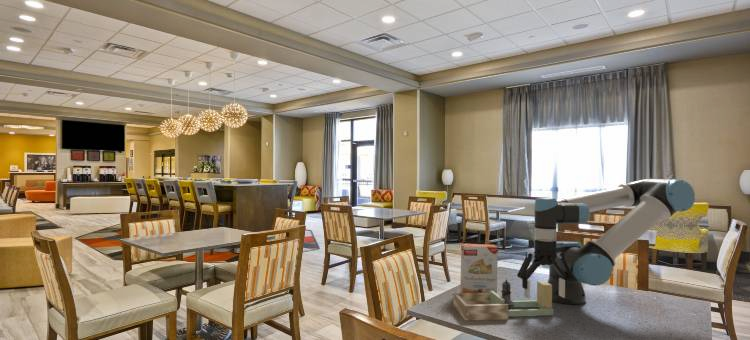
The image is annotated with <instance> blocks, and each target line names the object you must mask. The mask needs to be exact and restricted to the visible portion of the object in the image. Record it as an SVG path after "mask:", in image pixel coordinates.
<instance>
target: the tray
mask: <svg viewBox="0 0 750 340" xmlns="http://www.w3.org/2000/svg"><path fill="white" fill-rule="evenodd" d="M547 282H548V281H546V280H543V281H542V280H540V281H538V280H537V281H536V299H532V300H530V299H529V300H527V299H526V300H512V301H513V302H514V303H515V304H514V306H513V308H517V309H511V310H508V317H533V316H534V317H538V316H539V317H540V316H554V309H553V308H552V306H553V301H552V285H551V284H549V283H547ZM490 304H505V300H504V299H503V298H502V295H501V296H500V294H498V292H497V293H495V292H494V291H490ZM523 307H524V308H523ZM525 307H526V308H527V309H525ZM529 307H537V308H529ZM518 308H519V309H518ZM520 308H521V309H520ZM522 308H523V309H522Z"/></svg>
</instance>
